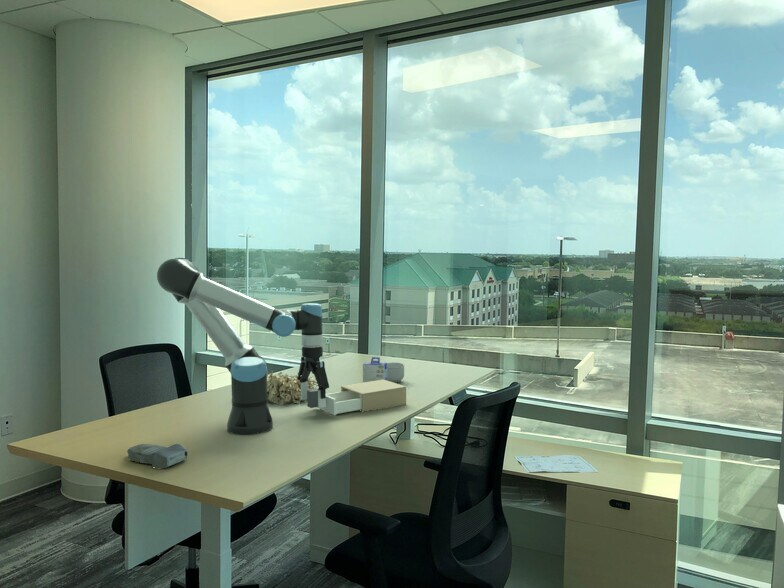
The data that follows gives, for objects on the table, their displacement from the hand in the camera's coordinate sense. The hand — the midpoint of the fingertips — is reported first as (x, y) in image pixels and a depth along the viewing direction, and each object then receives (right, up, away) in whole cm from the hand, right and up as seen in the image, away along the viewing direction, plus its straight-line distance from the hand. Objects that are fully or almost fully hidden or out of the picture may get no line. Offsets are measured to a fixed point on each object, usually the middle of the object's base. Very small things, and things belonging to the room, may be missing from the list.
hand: (313, 403), depth 223 cm
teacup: (+28, 0, +57) cm, 63 cm away
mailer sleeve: (+22, -3, +15) cm, 27 cm away
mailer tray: (+9, -3, +7) cm, 12 cm away
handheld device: (-40, -8, -48) cm, 63 cm away
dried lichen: (-16, -3, +27) cm, 32 cm away
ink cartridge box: (+22, -2, +36) cm, 42 cm away
